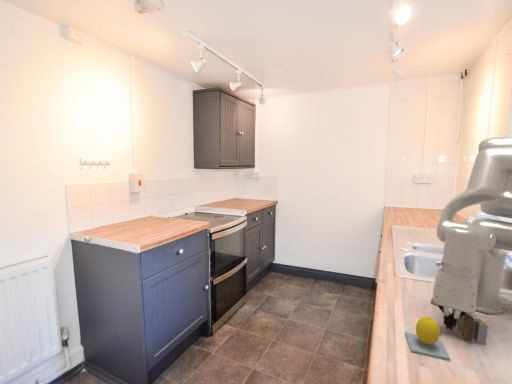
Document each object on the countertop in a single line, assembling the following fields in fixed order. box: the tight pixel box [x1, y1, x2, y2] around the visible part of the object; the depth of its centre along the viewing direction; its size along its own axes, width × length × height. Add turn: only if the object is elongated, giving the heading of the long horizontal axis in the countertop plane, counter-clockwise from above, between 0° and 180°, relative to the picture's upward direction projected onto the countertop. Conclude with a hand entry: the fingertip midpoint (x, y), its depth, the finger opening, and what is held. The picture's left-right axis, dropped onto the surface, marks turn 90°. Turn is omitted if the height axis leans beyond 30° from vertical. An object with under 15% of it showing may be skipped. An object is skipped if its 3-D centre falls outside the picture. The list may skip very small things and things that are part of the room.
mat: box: [404, 331, 451, 362], centre depth 75 cm, size 9×8×1 cm
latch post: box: [473, 318, 489, 346], centre depth 77 cm, size 2×2×7 cm
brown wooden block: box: [456, 315, 476, 342], centre depth 82 cm, size 12×2×6 cm, turn 157°
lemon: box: [415, 316, 441, 345], centre depth 74 cm, size 6×6×8 cm
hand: (449, 327), depth 81 cm, fingers closed
